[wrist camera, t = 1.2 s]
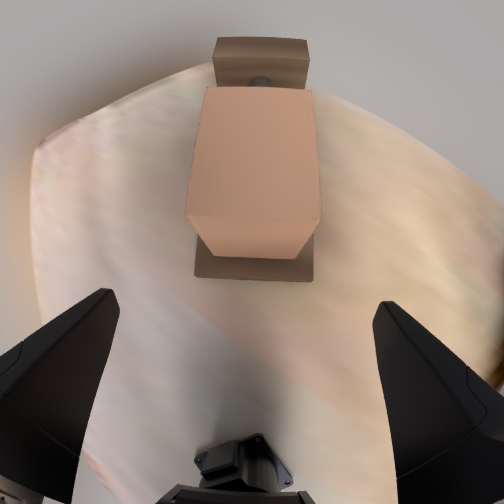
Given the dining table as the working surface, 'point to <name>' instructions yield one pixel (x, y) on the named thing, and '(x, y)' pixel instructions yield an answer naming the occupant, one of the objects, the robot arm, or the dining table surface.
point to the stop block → (238, 75)
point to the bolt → (260, 82)
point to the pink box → (255, 172)
